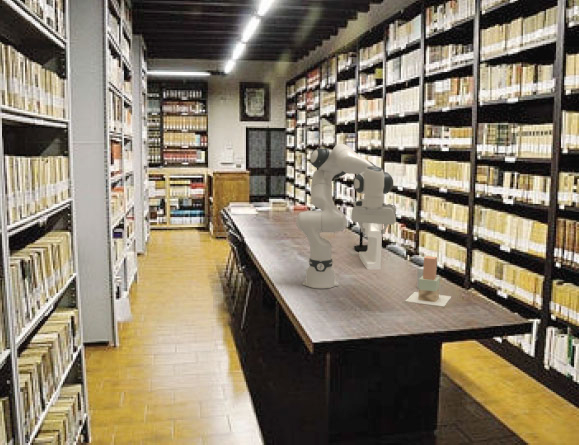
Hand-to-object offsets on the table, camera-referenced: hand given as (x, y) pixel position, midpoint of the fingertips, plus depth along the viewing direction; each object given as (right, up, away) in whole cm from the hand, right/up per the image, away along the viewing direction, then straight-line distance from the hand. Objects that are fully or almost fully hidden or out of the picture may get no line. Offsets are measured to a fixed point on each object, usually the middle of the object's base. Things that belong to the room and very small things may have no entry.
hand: (372, 232), depth 253 cm
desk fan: (+16, -14, +130) cm, 132 cm away
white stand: (+11, -20, +90) cm, 93 cm away
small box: (+32, -29, +33) cm, 54 cm away
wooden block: (+28, -32, +12) cm, 44 cm away
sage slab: (+28, -27, +11) cm, 40 cm away
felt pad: (+28, -32, +12) cm, 44 cm away
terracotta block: (+28, -22, +10) cm, 37 cm away
